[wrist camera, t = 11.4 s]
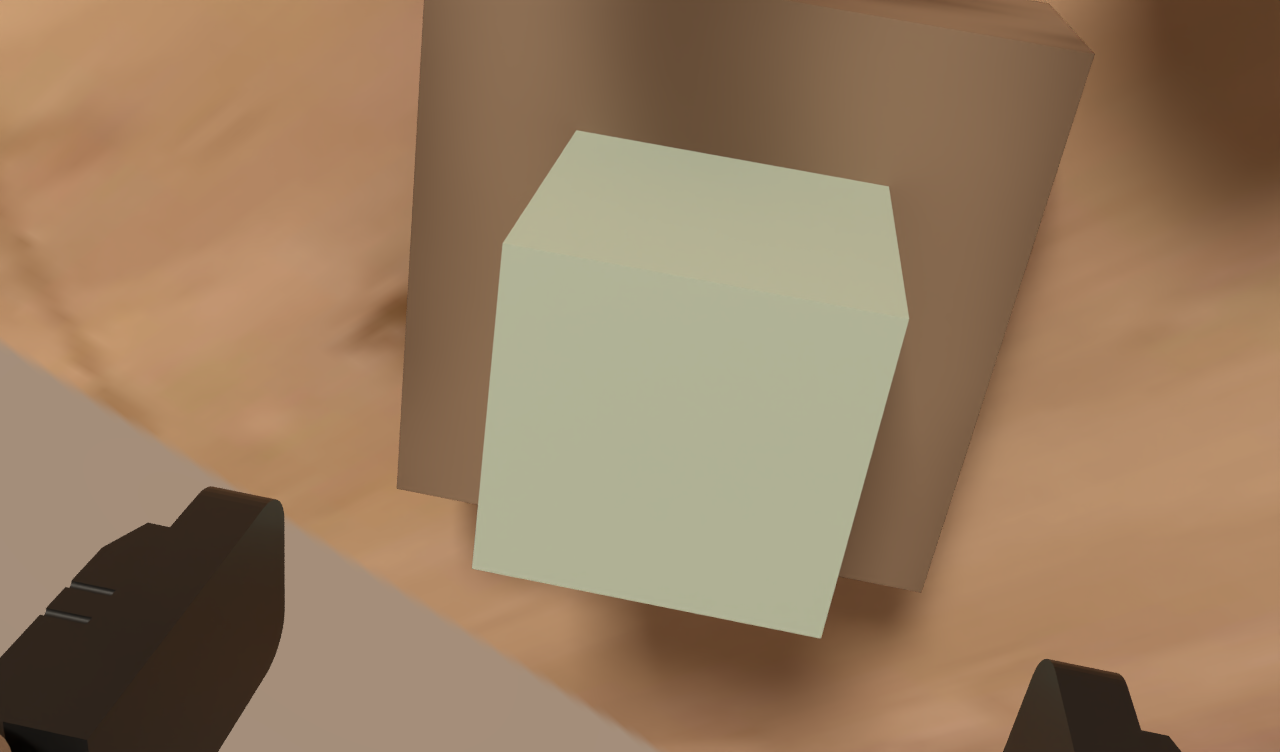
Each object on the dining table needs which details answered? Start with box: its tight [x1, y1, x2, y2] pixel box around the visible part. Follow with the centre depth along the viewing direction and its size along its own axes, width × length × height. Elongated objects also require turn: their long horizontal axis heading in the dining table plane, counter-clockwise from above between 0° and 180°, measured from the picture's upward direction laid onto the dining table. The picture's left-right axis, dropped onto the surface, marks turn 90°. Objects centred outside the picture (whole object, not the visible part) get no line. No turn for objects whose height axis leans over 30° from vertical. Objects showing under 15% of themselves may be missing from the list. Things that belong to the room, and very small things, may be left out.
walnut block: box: [397, 0, 1095, 593], centre depth 22 cm, size 10×10×4 cm
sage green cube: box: [472, 130, 909, 639], centre depth 18 cm, size 5×5×5 cm
